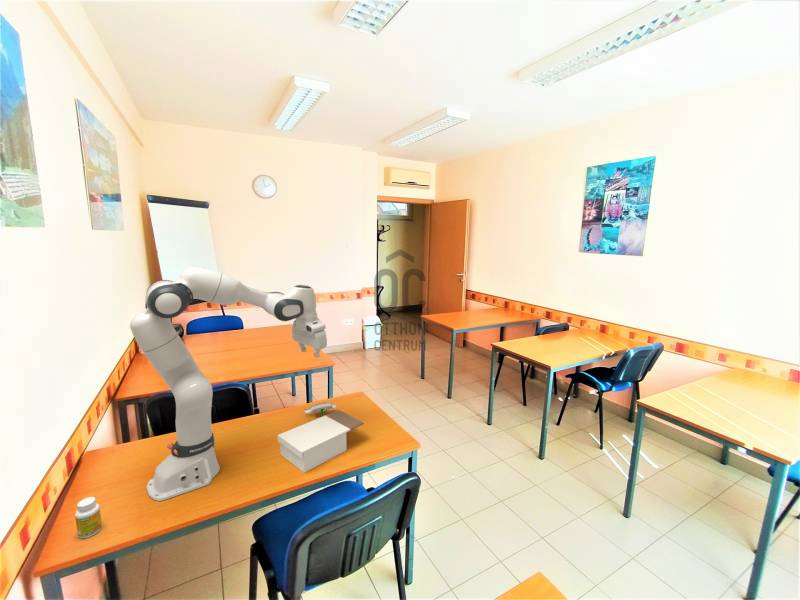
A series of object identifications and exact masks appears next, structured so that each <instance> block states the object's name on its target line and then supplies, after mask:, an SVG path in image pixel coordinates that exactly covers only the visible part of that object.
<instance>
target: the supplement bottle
mask: <svg viewBox="0 0 800 600" xmlns="http://www.w3.org/2000/svg"><path fill="white" fill-rule="evenodd" d="M76 505H77V506H76V507H77V510H76V511H75V514H74V517H75V523H76V532H77V537H78V538H79V539H86V538H87V539H88V538H90V537H93V536H94V535H96V534H98V533H99V532H100V531H101V530H102V527H103V524H102V523H103V522H102V515H101V506H100V504H99V503H97V501H96V497H94V496H90V497H85V498H83V499H82V500H80V501H79V502H78V503H77V504H76Z"/></svg>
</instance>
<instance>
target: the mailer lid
mask: <svg viewBox="0 0 800 600" xmlns="http://www.w3.org/2000/svg"><path fill="white" fill-rule="evenodd" d="M364 424H365V422H363V421H361V420H360V419H357V418H355V417H354V416H351V415H350V414H348V413H345V411H342V410H340V409H337V410H335V411H333V412H331V413H327V414H326V415H325V414H324V416H323V417H322V416H321V417H318V418H316V419H315V418H314V420H311V421H309V422H306V423H304V424H301V425H299V426H296V427H294V428H292V429H289V430H287V431H284V432H282V433H280V434H277V442H278V443H279V444H280V443H281V444H282V445H284V446H285V447H286V448H288V449H289V450H291V451H292V452H293V453H295V454H296V455H297V456H299V457H300V458H301V459H303V453H305V452H307V451H309V450H311V449H313V448H315V447H317V446H319V445H321V444H323V443H325V442H328V441H330V440H332V439H334V438H336V437H338V436H340V435H342V434H344V433H346V434H347V433H348V432H350V431H352V430H354V429H356V428H359V427H361V426H362V425H364Z"/></svg>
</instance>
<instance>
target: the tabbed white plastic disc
mask: <svg viewBox="0 0 800 600" xmlns="http://www.w3.org/2000/svg"><path fill="white" fill-rule="evenodd" d="M336 408H337V407H336V404H335V403H334V404H333V403H332V402H330V401H329V402H321V403H318V404H314V405H312V406H311V407H310V408H307V409H304V414H305V415H308V414H317V413H316V412H318V413H320V415H321V417H323V416H325V414H324V412H326V410H327V411H329V410H335V409H336Z"/></svg>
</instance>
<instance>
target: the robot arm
mask: <svg viewBox="0 0 800 600" xmlns="http://www.w3.org/2000/svg"><path fill="white" fill-rule="evenodd" d="M195 299H196V300H201V301H205V302H209V303H212V304H216V305H222V306H233V305H235V304H236V303H237V304H238V303H242V304H243V303H245V304H248V305H252V306H254V307H255V306H256V307H258V308H262V309H263V310H264V311H265V312H267V313H268V314H269V315H271V316H273V317H274V318H275V319H277V320H279V321H281V322H288V321H289V322H290V321H292V320H294V321H293V322H292V327H291V333H292V334H291V336H292V337H291V338H292V340H293V341H295V342H297V343H298V346H299V347H300V351H301V352H302V353H306V352H307V347H306V346H308V347H310V348H314V353H313V357H315V358H316V359H317V358H319V357H321V355H320V352H321V351H322V350H323V349H326V348H327V345H328V339H327V333H326V328H327V326H326V324H325V323H324V322H323V321H321V319H320V318H318V312H317V310H316V309H317V299H316V294H315V290H314V289H313V287H311V286H309V285H305V284H304V285H303V284H298V285H297V284H296V285H294V286H293V288H292V289H290V290H289V291H288V292H286V293H285V294H284V293H282V292H280V291H271V292H267V291H266V292H265V291H262V290H259V289H255V288H252V287H249V286H246V285H245V284H243V283H242V282H241V281H240V280H238V279H236V278H234V277H233V276H230V275H228V274H225V273H223V272H220V271H217V270H213V269H209V268H204V267H198V266H189V267H186V268H185V269H184V270H182V272H181V274H180V275H179V278H178V279H176V281H173V280H168V279H160V280H157V281H154V282H153V283H151V284H150V285H149V286H148V288H147V289H146V293H145V306H144V307H145V310H144V311H142V312H140V313H137V315H135V316H134V317H133V318H132V320H131V321H130V324H129V327H130V330H131V331H130V332H131V333H132V335H133V338H134V339H135V342H136V343H137V345H138V346H139V348H140V350H141V351H142V352H143V354H144V355H145V357H146V359H148V361H149V362H150V364H151V366H152V367H153V368H154V370H155V371H156V372H157V373H158V375H159V376H160V377H161V379H162V380H163V381H164V382H165V385H167V386H168V388H169V390H170V391H171V393H172V395H173V396H174V401H175V431H176V432H175V433H176V434H175V435H176V442H174V443H173V442H172V441H170V442H168V443H167V444H166V448H167V449H168V450H170V452H171V453H170V454H169V455H168V456H167V457H166V458H165V459H164V460H163V461H162V462H160V463H159V464H158V465H157V466H156V468H155V471H154V475H153V478H152V479H150V480H149V481H148V482H147V484H146V492H147V495H148V496H149V497H150V499H152V500H154V501H157V502H162V501H165V500H169V499H171V498H173V497H177V496H179V495H182V494H186V493H189V492H192V491H194V490H197V489H200V488H203V487H207V486H209V485H210V484H211V482H212V480H213V478H215V476H216V475H217V474H218V473H219V472H220V469H221V466H220V464H219V462H218V459H217V456H216V453H215V452H216V451H215V443H216V442H215V441H216V440H215V435H214V433H213V428H212V427H213V426H212V404H213V395H214V394H213V390H214V389H213V385H212V384H211V382H210V381H209V379H207V377H206V376H205V375H204V373H203V372H202V371H201V369H200V367H199V365H198V364H197V362H196V361H195V359H194V357H193V355H192V353H191V352H190V351H189V349H188V348H187V346H186V344H185V343H184V341H183V340H182V338H181V337H180V335H179V334H178V332H177V330H176V329H175V328H174V326H173V323H172V322H171V319H172V318H177V317H178V316H180V315H182V313H184V311H185V310H186V309H187V308H188V307H189V305H191V303H192V301H194V300H195Z"/></svg>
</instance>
